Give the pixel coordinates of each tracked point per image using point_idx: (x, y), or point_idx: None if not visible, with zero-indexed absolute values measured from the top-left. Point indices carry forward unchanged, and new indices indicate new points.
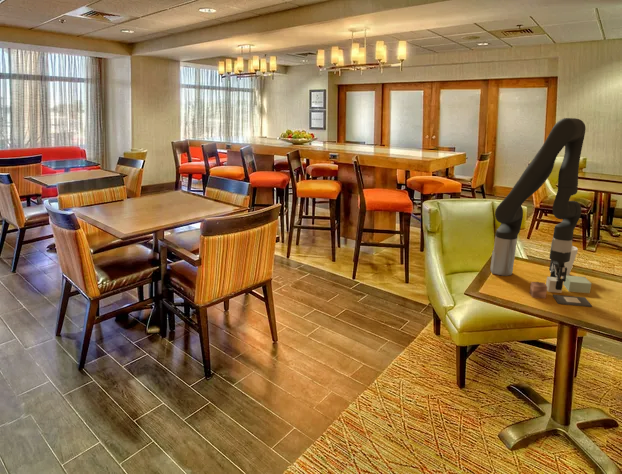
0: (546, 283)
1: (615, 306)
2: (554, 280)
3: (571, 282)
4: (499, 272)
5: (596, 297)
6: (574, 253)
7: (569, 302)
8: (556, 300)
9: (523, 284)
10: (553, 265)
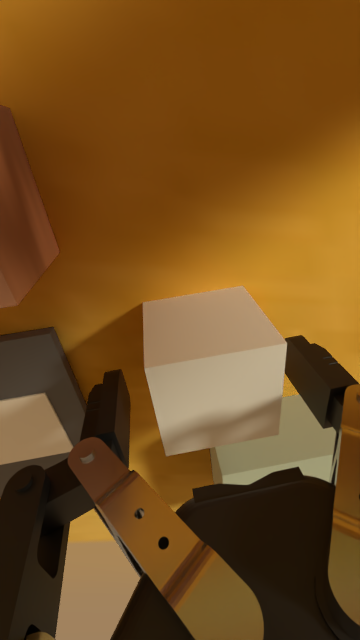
0: (243, 306)
1: (80, 540)
2: (173, 401)
3: (221, 476)
4: None
5: (162, 498)
6: None
7: None
8: None
9: (273, 51)
10: (327, 578)
